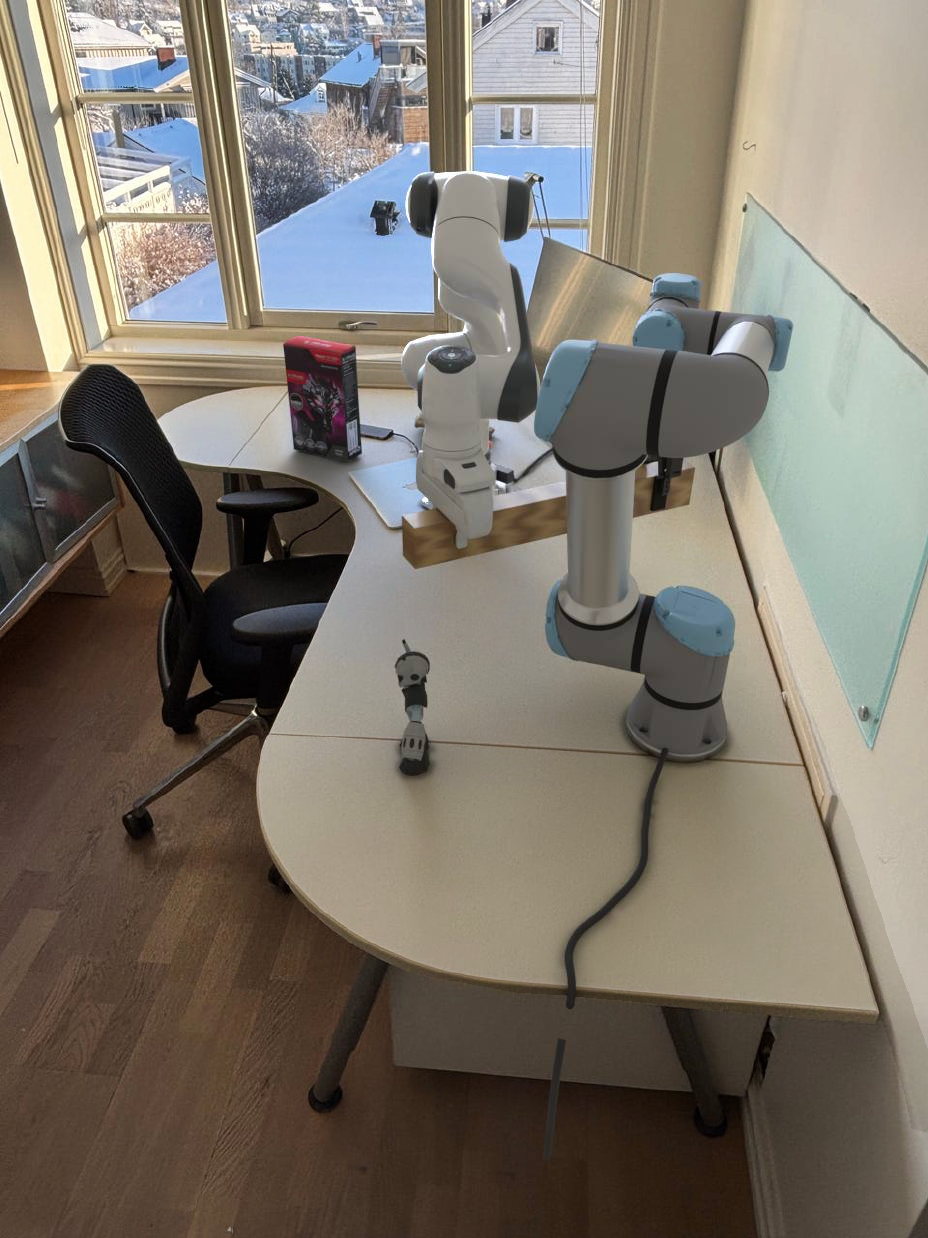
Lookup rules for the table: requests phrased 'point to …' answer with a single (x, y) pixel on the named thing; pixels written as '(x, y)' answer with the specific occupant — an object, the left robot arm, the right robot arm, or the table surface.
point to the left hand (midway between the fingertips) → (451, 537)
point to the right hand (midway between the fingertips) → (647, 502)
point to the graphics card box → (323, 397)
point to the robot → (413, 710)
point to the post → (523, 518)
